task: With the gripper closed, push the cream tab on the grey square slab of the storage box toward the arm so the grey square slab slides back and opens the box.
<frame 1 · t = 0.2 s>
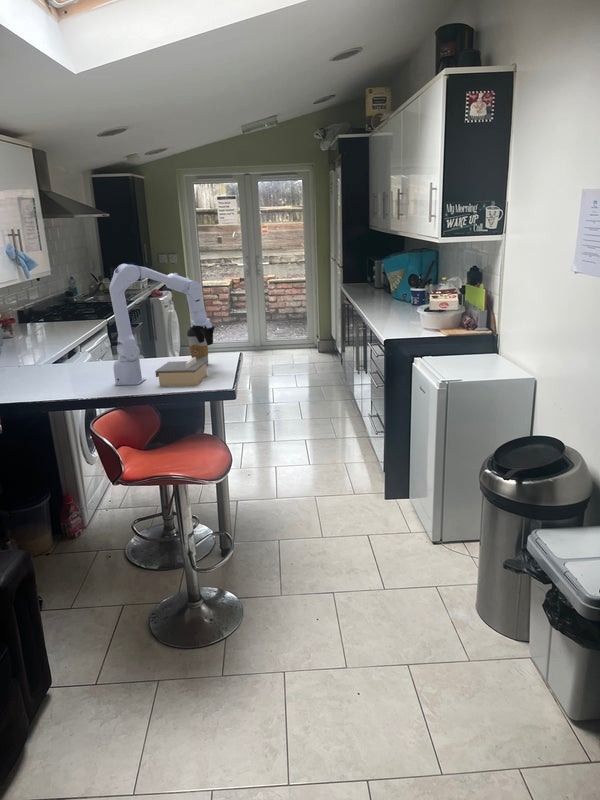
hand: (206, 343, 243), 10 cm above the breakfast bar, tool pointing down, fingers open, 7 cm apart
coffee cup: (201, 365, 254), on the breakfast bar, touching gripper
grey square slab: (181, 366, 228), point 6 cm above the breakfast bar, slide at 0.0 cm
storage box: (183, 380, 229), on the breakfast bar
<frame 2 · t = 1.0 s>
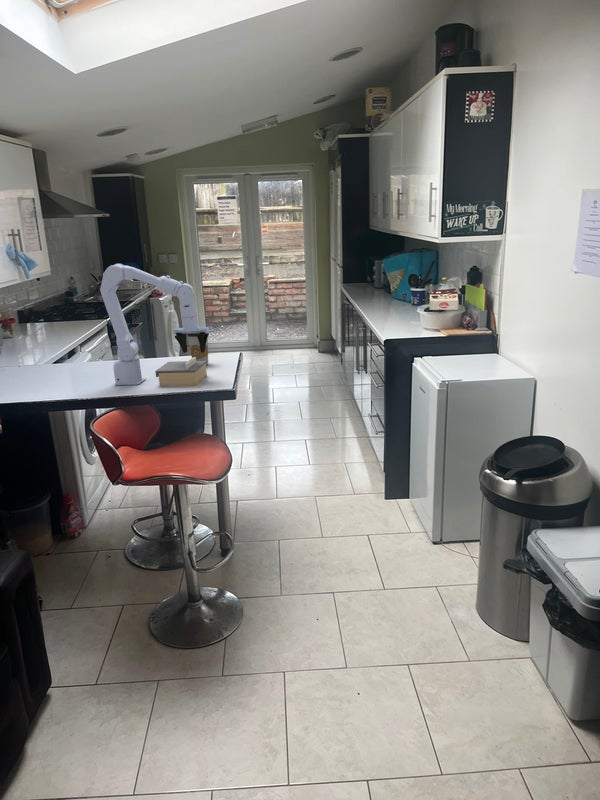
hand: (194, 352, 230), 10 cm above the breakfast bar, tool pointing down, fingers open, 7 cm apart
coffee cup: (201, 365, 254), on the breakfast bar
everything else where it was.
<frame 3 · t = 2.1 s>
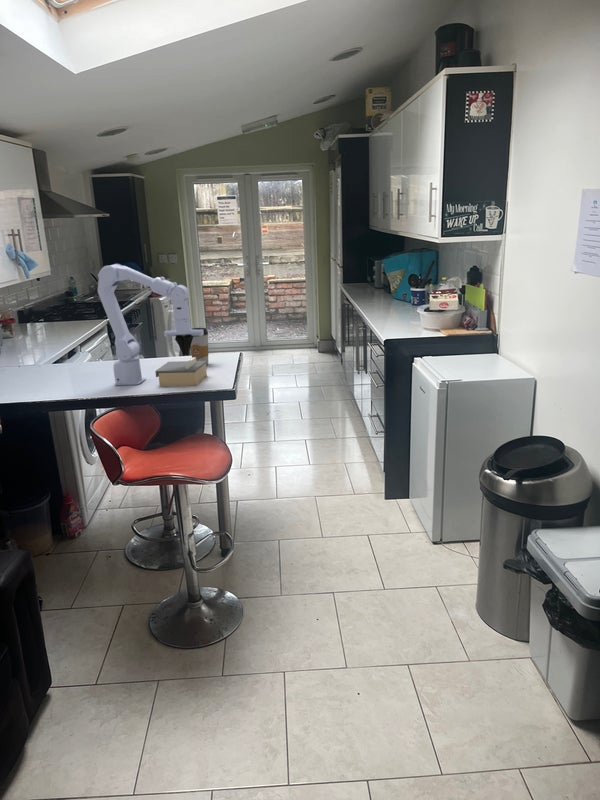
hand: (186, 355, 226), 10 cm above the breakfast bar, tool pointing down, fingers closed
nothing on the breakfast bar moved.
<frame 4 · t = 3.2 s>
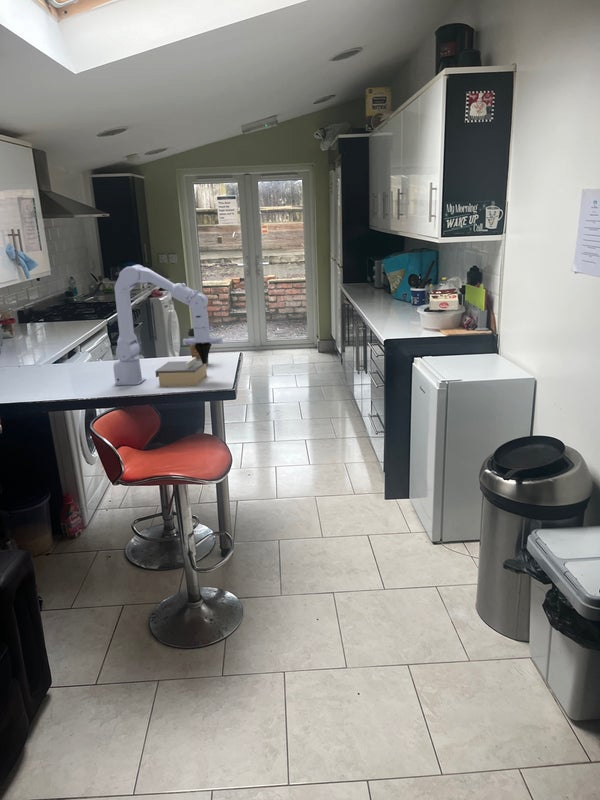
hand: (204, 363, 226), 7 cm above the breakfast bar, tool pointing down, fingers closed
nothing on the breakfast bar moved.
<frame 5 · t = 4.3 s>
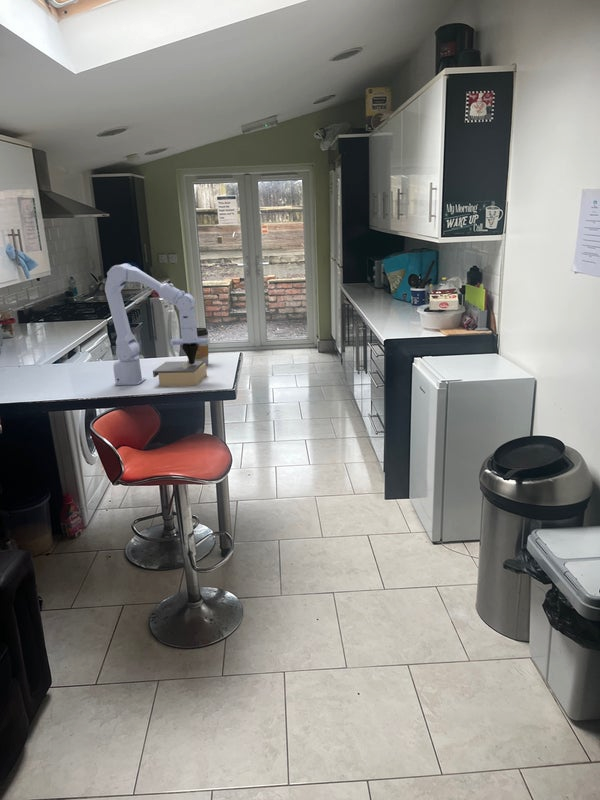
hand: (192, 363, 227), 7 cm above the breakfast bar, tool pointing down, fingers closed
grey square slab: (179, 366, 228), point 6 cm above the breakfast bar, slide at 1.0 cm, touching gripper
everything else where it was.
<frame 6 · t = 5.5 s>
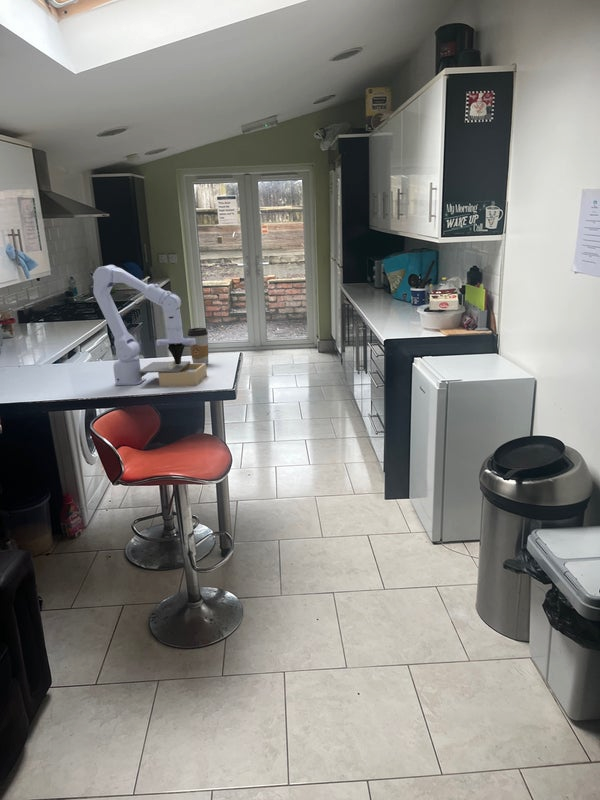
hand: (178, 363, 227), 7 cm above the breakfast bar, tool pointing down, fingers closed
grey square slab: (165, 366, 228), point 6 cm above the breakfast bar, slide at 6.4 cm, touching gripper
everything else where it was.
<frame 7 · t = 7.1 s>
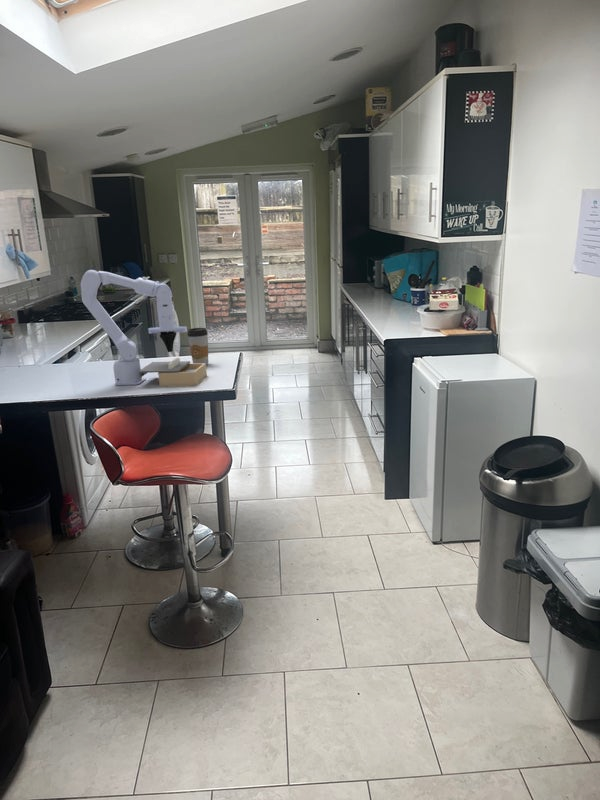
hand: (170, 351, 232), 10 cm above the breakfast bar, tool pointing down, fingers closed
grey square slab: (164, 366, 228), point 6 cm above the breakfast bar, slide at 6.5 cm
everything else where it was.
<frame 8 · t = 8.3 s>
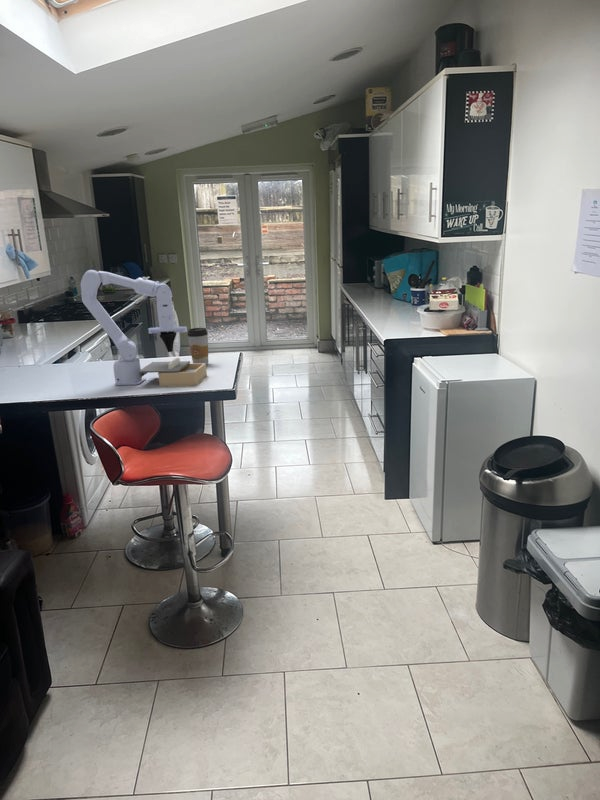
hand: (170, 351, 232), 10 cm above the breakfast bar, tool pointing down, fingers closed
nothing on the breakfast bar moved.
at the end: grey square slab slide at 6.5 cm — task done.
